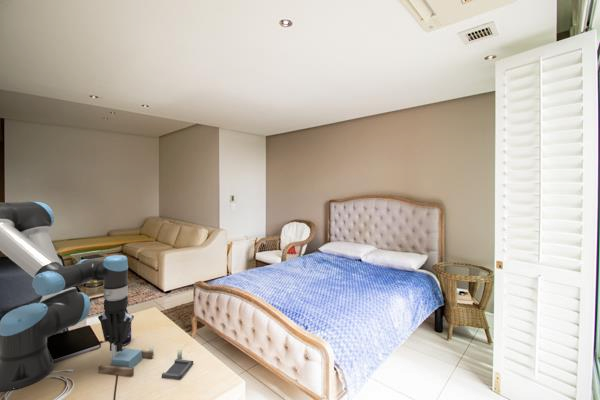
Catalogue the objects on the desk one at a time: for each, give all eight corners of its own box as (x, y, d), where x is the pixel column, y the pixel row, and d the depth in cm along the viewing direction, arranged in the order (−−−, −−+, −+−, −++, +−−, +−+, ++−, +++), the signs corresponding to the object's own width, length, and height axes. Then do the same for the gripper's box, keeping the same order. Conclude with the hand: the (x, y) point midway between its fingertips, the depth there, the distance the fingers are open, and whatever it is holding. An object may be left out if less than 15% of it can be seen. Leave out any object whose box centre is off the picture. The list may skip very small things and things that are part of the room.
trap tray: (161, 377, 98) (161, 374, 98) (175, 362, 106) (176, 359, 106) (180, 379, 97) (180, 376, 97) (193, 364, 106) (193, 360, 106)
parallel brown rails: (98, 373, 99) (98, 366, 99) (122, 354, 110) (122, 348, 110) (131, 377, 98) (131, 370, 97) (152, 357, 109) (152, 351, 109)
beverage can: (123, 347, 115) (123, 319, 115) (112, 345, 116) (112, 317, 116) (134, 340, 120) (134, 313, 120) (123, 338, 122) (123, 312, 121)
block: (111, 369, 101) (111, 359, 101) (125, 358, 108) (125, 348, 108) (128, 371, 100) (128, 361, 100) (142, 360, 107) (142, 350, 107)
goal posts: (148, 356, 110) (148, 348, 110) (150, 353, 111) (150, 346, 111) (180, 359, 108) (180, 352, 108) (182, 357, 110) (182, 349, 110)
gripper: (91, 300, 101) (91, 363, 101) (124, 302, 99) (124, 367, 100) (108, 292, 108) (108, 351, 109) (139, 294, 107) (138, 354, 107)
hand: (116, 359), depth 104 cm, fingers closed
